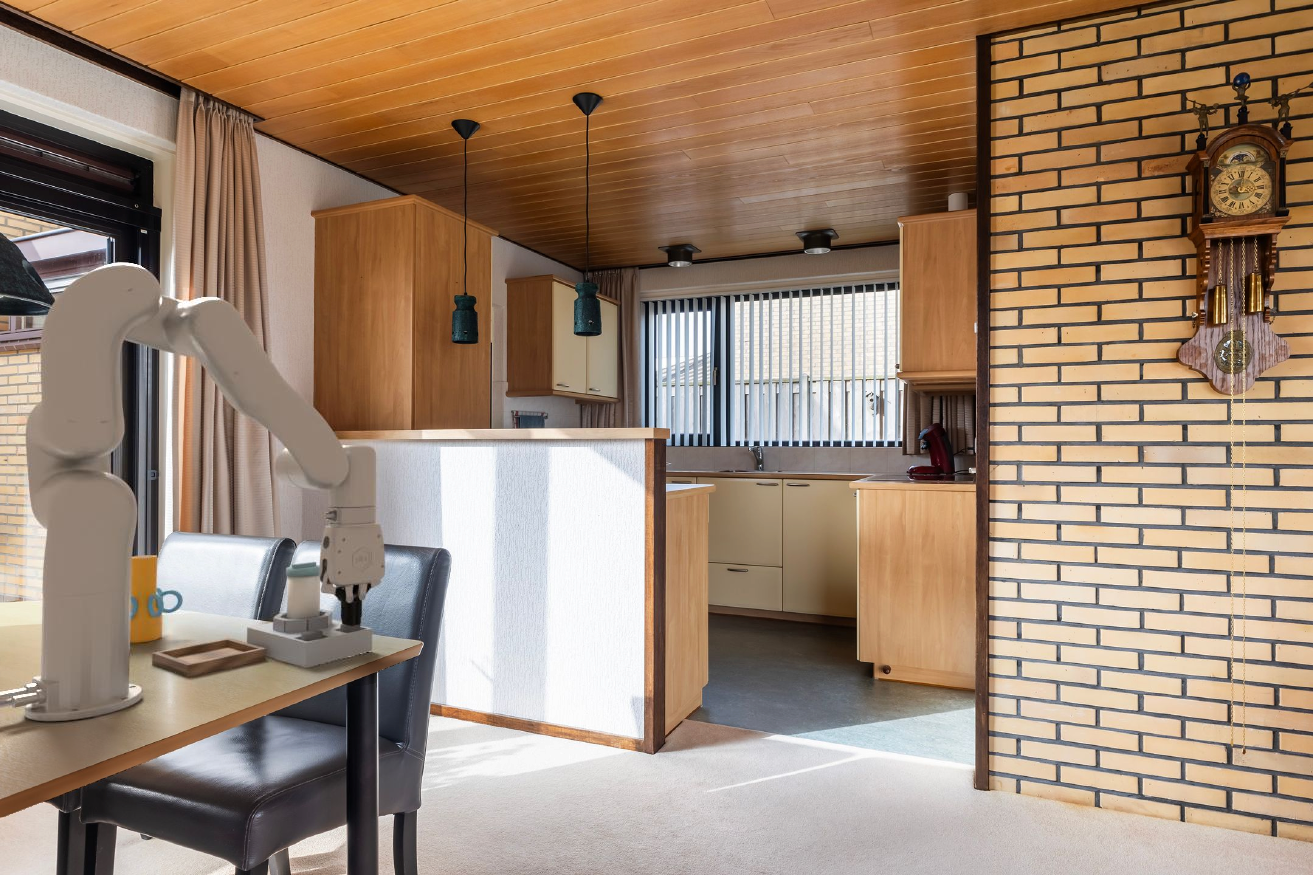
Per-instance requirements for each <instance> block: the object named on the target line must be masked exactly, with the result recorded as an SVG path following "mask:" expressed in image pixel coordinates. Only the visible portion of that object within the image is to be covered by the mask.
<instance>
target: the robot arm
mask: <svg viewBox="0 0 1313 875" xmlns="http://www.w3.org/2000/svg"><path fill="white" fill-rule="evenodd" d="M124 341H127V342H130V343H133V344H137V345H141V346H145V347H149V348H151V349H153V350H154V349H155V350H159V351H162V352H166V353H171V354H173V355H179V356H183V357H187V358H188V357H189V358H197V360H198V362H200V364H201V366H202V367H203V368H204V370H205V371H206V373H207V374H208V375H209V377H210V378H211V380H212V381H213V382H214V384H215V385H216V387H217V388H218V389H219V391H220V392H221V394H222V395H223V397H224V398H225V399H226V401H227V402H228V403H229V405H230V406H231V407H232V408H233V409H234V410H236V411H237V412H238V413H240V414H241V415H243V416H245V417H246V418H247V419H250V420H252V421H253V422H255V423H257V424H258V425H260V426H262V427H263V428H265V429H266V430H268V432H270V433H271V434H272V435H273V436H274V437H276V439H277V440H278V441H279V442H280V443H281V444H282V445H283V447H284V449H282V450H281V452H279V454H278V455H277V456H276V458H275V460H274V471H275V474H276V476H277V478H278V479H279V480H280V481H281V482H282V483H283V484H285V485H286V486H288V487H291V488H294V489H299V490H300V489H301V490H316V491H317V490H318V491H328V508H327V511H324V512H323V513H322V515H321V518H322V520H324V521H327V523H328V525H325V527H324V530H323V535H322V539H321V546H320V554H319V566H320V567H319V574H320V583H321V585H320V593H322V594H325V595H327V594H328V595H333V596H334V597H336V598H337V600H338V601H339V602H340V619H341V620H340V621H341V622H342V624H345V625H349V626H354V625H355V624H356V625H359V624H361V623H362V617H363V601H364V600H366V596H367V594H368V593H369V592H370V590H371V589H372V588H373V589H374V588H375V587H378V586H379V585H381V581H382V579H384V577H385V575H386V556H385V555H386V554H385V545H384V537H383V531H382V527H381V523H380V522H379V523H377V522H376V521H377V519H376V518H377V515H376V514H377V513H376V512H377V511H376V509H377V500H376V499H377V452H376V450H375V448H374V447H372V446H371V445H365V444H344V445H343V444H342V443H341V441H340V440H339V438H338V437H337V435H336V434H335V432H334V431H333V429H332V428H331V426H330V425H329V424H328V422H327V421H326V420H325V418H324V417H323V415H321V414H320V412H319V411H318V410H317V409H316V408H315V407H314V406H313V405H312V404H311V403H310V402H308V401H307V399H306V398H304V396H303V395H301V394H300V393H299V392H298V391H297V390H296V389H295V388H294V387H293V386H292V385H291V384H289V383H288V381H286V380H285V378H283V376H282V375H281V373H280V372H279V370H278V369H277V367H276V366H275V364H274V363H273V361H272V360H271V358H270V357H269V356H268V354H267V353H266V351H265V349H264V347H263V346H262V345H261V343H260V342H259V340H258V339H257V337H256V336H255V334H254V333H253V330H252V329H251V328H250V327H249V325H248V324H247V322H246V321H245V319H244V318H243V316H242V315H241V314H240V312H239V310H237V308H236V307H235V306H233V305H232V304H231V303H230V302H229V301H227V300H226V299H225V300H224V299H223V298H220V297H213V296H211V297H210V296H209V297H208V296H207V297H201V298H200V297H199V298H196V299H193V300H190V301H183V300H180V299H177V298H174V297H170V296H166V295H164V294H163V291H162V288H161V285H160V283H159V280H158V279H157V278H156V277H155V275H154V274H153V273H152V272H150V271H149V269H146V268H144V267H142V266H141V265H138V264H134V263H129V262H115V263H111V264H106V265H104V266H101V267H98V268H96V269H95V268H94V270H91V271H89V272H87V273H85V274H83V275H81V276H79V277H78V278H76V279H75V280H74V281H72V282H71V283H70V284H69V285H68V286H67V287H66V288H65V289H64V290H63V291H62V292H61V294H60V295H59V296H58V297H57V298H56V299H55V300H54V302H53V303H52V305H51V307H50V309H49V310H48V313H47V314H46V317H45V320H44V322H43V326H42V330H41V338H40V391H41V401H39V402H38V403H37V404H36V405H35V406H34V407H33V409H32V410H31V412H30V414H29V415H28V417H27V421H26V426H25V448H26V449H25V450H26V451H25V452H26V466H27V477H28V478H27V479H28V492H29V499H30V506H31V507H30V508H31V511H32V513H33V515H34V517H35V519H36V521H37V522H38V523H39V525H41V526H42V527H43V528H44V529H46V539H45V540H46V541H45V547H44V556H43V565H42V566H43V568H42V570H43V571H42V592H41V593H42V611H41V612H42V616H41V618H42V619H41V651H40V652H41V656H40V658H41V660H40V661H41V662H40V675H38V676H33V677H32V682H31V683H28V684H25V685H23V688H16V689H7V690H4V691H0V708H1V709H2V708H6V707H10V706H11V707H12V709H15V708H20V707H24V713H23V714H24V716H25V718H27V719H29V720H33V721H39V722H62V721H63V722H64V721H72V720H73V721H74V720H80V719H88V718H92V717H97V716H103V715H106V714H109V713H110V714H111V713H113V712H117V711H120V710H123V709H125V708H129V707H130V706H133V705H135V704H136V703H138V702H139V701H141V699H142V698H143V694H144V693H143V688H142V687H141V686H140V685H137V684H134V683H130V660H131V657H130V652H131V643H130V613H131V564H132V557H133V548H134V540H135V535H136V527H137V522H138V504H137V500H136V499H137V498H136V496H135V493H134V492H133V491H132V488H131V487H130V485H128V483H127V482H125V481H124V480H123V479H122V478H121V477H119V476H117V475H115V474H113V473H112V472H111V470H112V469H111V457H110V455H111V453H112V452H113V451H115V450H116V449H117V448H118V447H119V446H120V444H121V443H122V441H123V438H124V435H125V417H124V410H123V409H124V408H123V400H122V399H123V398H122V387H121V386H122V385H121V351H122V346H123V343H124Z"/></svg>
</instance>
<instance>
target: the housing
mask: <svg viewBox="0 0 1313 875" xmlns="http://www.w3.org/2000/svg"><path fill="white" fill-rule="evenodd" d="M341 624H342V620H336V619H333V611H332V610H331V611H330V610H326V609H321V608H320V616H319V617H313V618H308V619H287V611H285V612H284V611H283V612H280V613H278V614H276V615H275V616H274V617H272V622H269V623H263V624H257V625H253V626H248V627H246V628H247V629H246V643H249V644H252V645H256V646H259V647H263V648H266V656H267V657H266V658H270V659H273V658H274V659H273V660H277V661H280V662H283V663H284V662H285V663H287V664H290V665H294V666H298V667H300V668H304V669H307V668H313V667H316V666H319V664H320V665H324V664H327V663H326V662H328V663H330V662H329V661H333V662H335V661H334V660H336V659H341V660H343V659H342V658H345V659H347V658H346V657H348V656H353V655H357V656H359V655H358V654H360V653H364V652H369V651H371V650H372V651H373V628H372V627H367V626H362V625H361V628H360V630H359V631H354V632H350V633H344V632H340V625H341ZM306 631H322V632H323V638H322V639H317V640H313V641H308V642H307V641H303V640H301V633H303V632H306ZM369 653H370V652H369ZM353 657H354V656H353Z"/></svg>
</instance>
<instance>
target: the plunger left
mask: <svg viewBox="0 0 1313 875" xmlns="http://www.w3.org/2000/svg"><path fill="white" fill-rule="evenodd" d="M322 638H323V632H322V631H306V632H303V633H301V640H303V641H307V642H308V641H313V640H317V639H322Z"/></svg>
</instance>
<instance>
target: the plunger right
mask: <svg viewBox="0 0 1313 875" xmlns="http://www.w3.org/2000/svg"><path fill="white" fill-rule="evenodd" d="M361 626H362V625H361V624H359V625H356V624H355V625H354V626H349V625H345V624H341V625H340V632H344V633H350V632H354V631H359V630H360V628H361Z"/></svg>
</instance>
